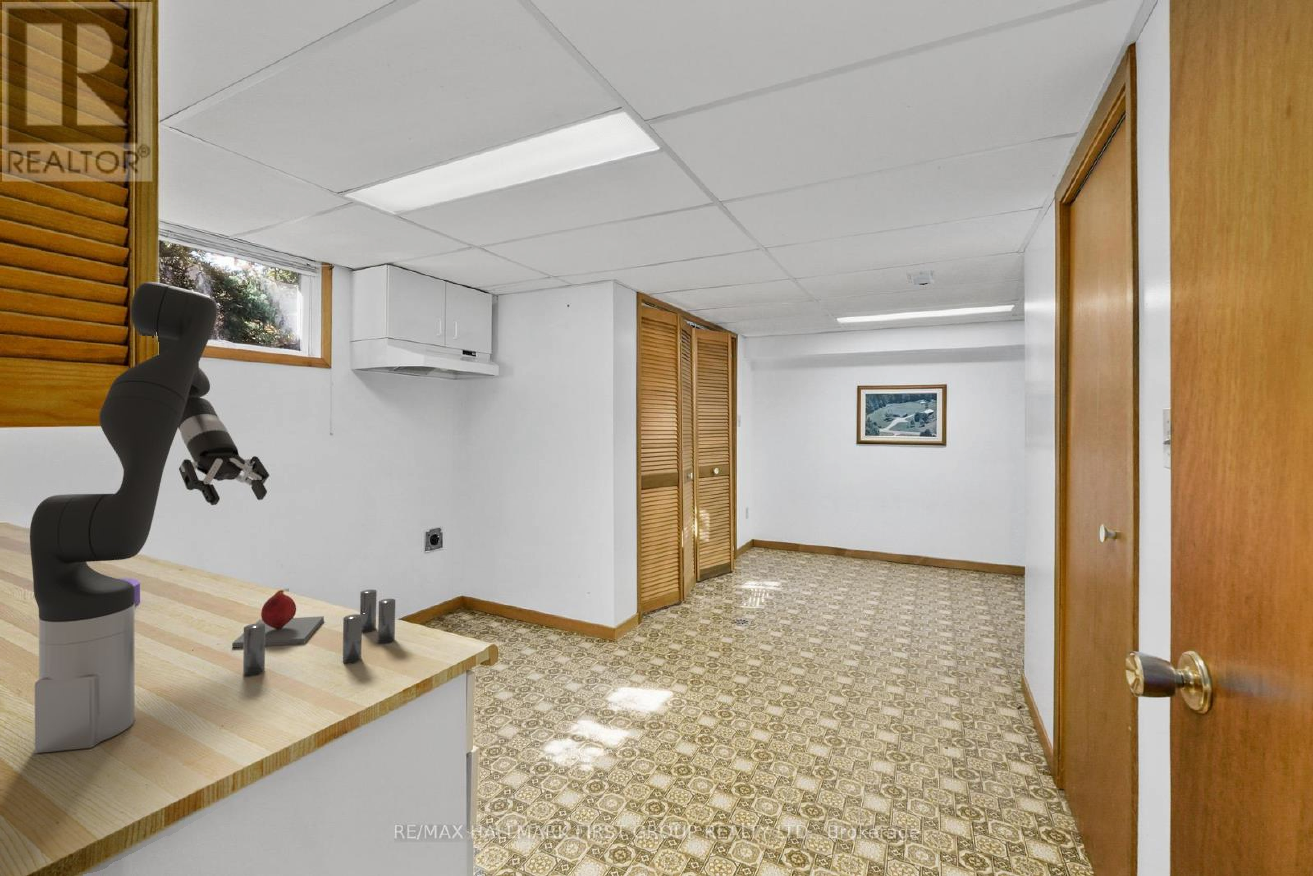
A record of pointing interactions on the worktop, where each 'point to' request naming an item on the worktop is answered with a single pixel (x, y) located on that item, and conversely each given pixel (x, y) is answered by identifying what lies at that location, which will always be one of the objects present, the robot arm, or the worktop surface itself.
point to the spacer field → (351, 632)
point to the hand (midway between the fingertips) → (240, 499)
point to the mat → (287, 632)
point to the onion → (278, 610)
